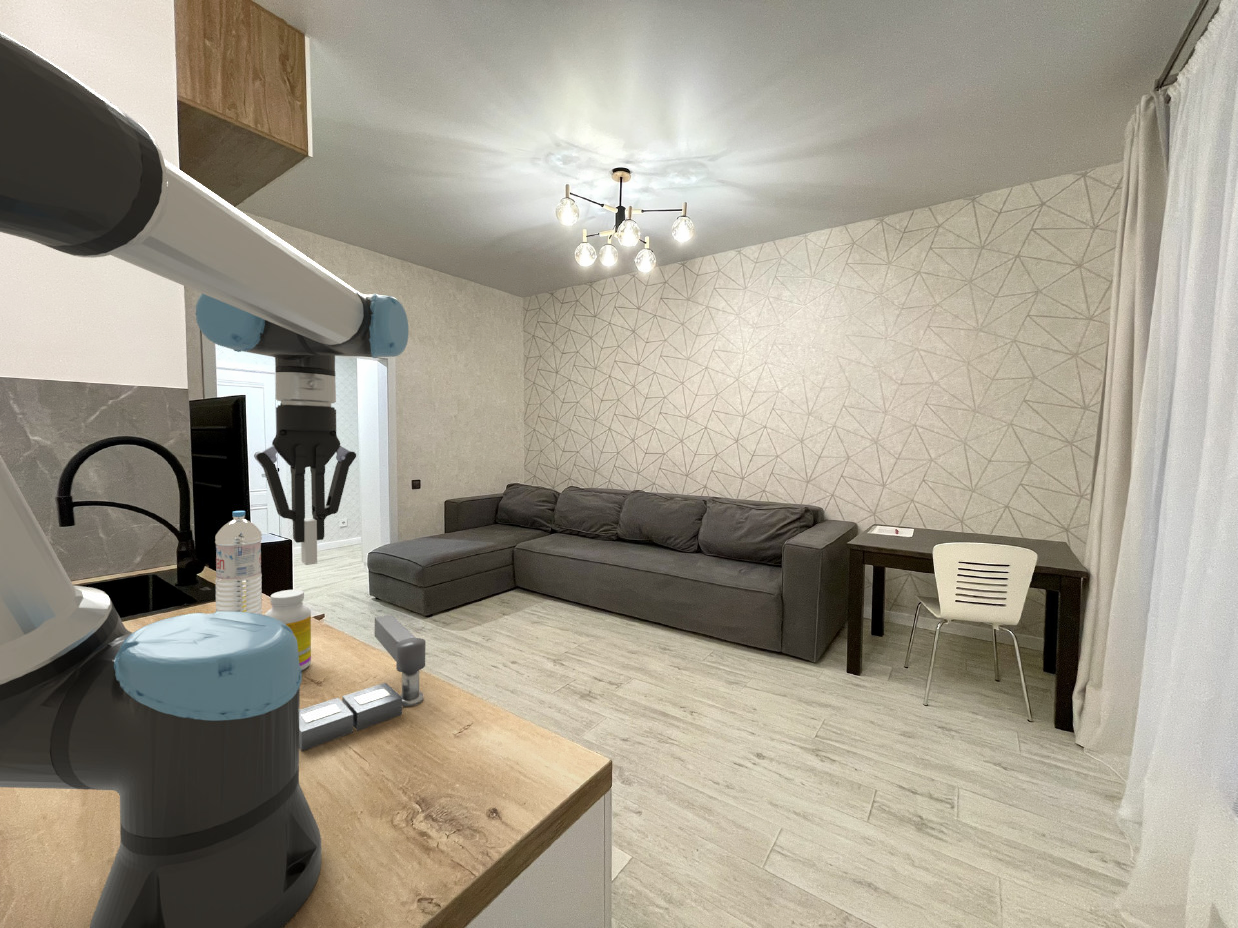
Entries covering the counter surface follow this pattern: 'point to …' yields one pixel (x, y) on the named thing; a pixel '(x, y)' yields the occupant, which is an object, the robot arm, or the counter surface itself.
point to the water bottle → (238, 566)
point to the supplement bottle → (294, 620)
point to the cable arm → (400, 644)
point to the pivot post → (411, 689)
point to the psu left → (324, 723)
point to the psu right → (373, 705)
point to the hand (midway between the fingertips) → (309, 562)
